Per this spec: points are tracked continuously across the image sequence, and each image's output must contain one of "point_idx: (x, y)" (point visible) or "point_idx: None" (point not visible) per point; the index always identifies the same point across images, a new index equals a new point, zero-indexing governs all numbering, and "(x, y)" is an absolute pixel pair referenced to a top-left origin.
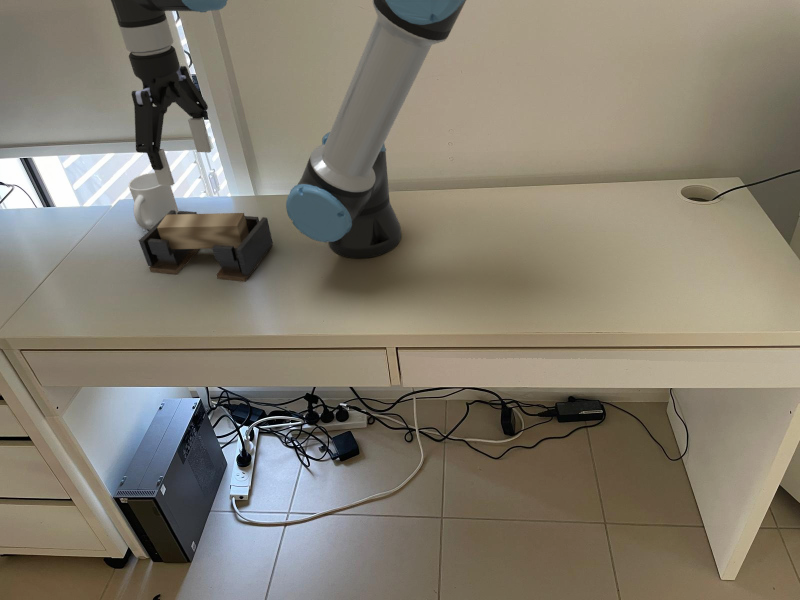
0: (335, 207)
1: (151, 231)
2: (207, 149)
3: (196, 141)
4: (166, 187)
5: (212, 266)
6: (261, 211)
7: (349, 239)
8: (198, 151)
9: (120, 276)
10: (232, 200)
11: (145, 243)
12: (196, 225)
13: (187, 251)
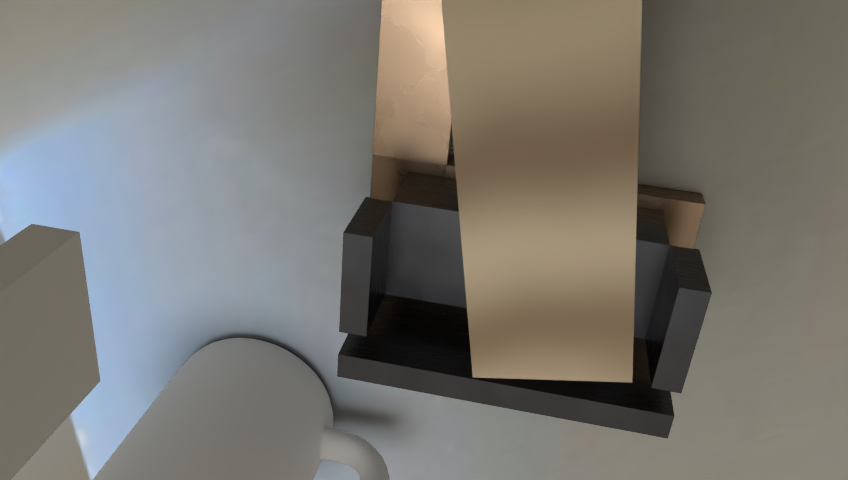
0: None
1: (570, 405)
2: (55, 267)
3: (6, 448)
4: (172, 463)
5: None
6: None
7: None
8: (94, 367)
9: (695, 428)
10: (10, 150)
11: (662, 399)
12: (620, 145)
13: None
